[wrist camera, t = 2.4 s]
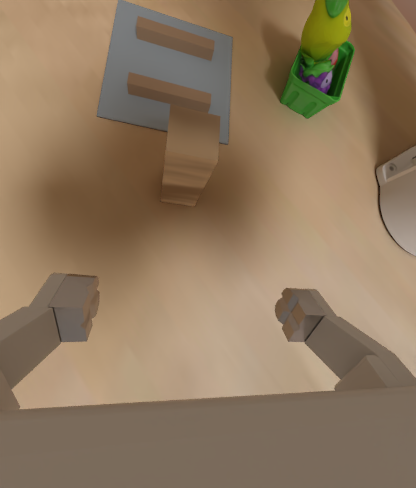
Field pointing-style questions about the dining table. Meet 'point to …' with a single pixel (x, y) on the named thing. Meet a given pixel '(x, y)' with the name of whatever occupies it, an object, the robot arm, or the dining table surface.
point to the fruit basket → (321, 59)
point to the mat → (164, 69)
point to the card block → (189, 154)
